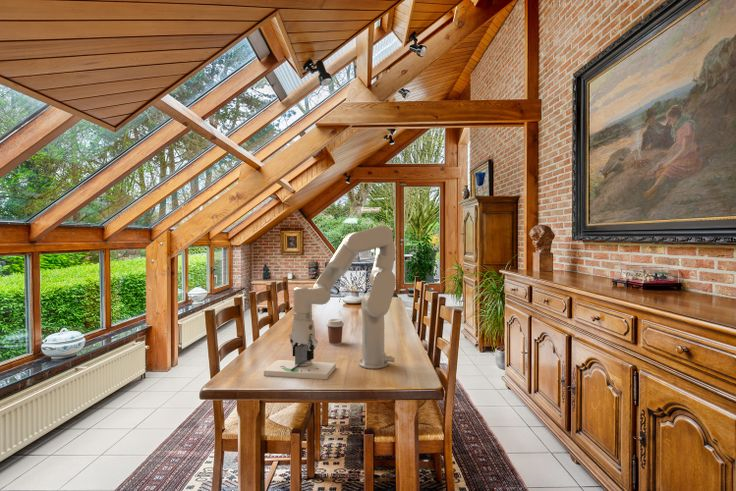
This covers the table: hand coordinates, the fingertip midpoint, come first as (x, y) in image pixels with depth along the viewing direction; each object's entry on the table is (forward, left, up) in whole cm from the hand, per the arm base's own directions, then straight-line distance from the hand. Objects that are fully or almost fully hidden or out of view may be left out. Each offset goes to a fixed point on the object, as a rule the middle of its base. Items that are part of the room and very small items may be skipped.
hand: (303, 357), depth 169 cm
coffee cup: (-3, -41, -5) cm, 41 cm away
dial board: (0, +3, -5) cm, 6 cm away
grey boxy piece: (0, +3, -3) cm, 4 cm away
